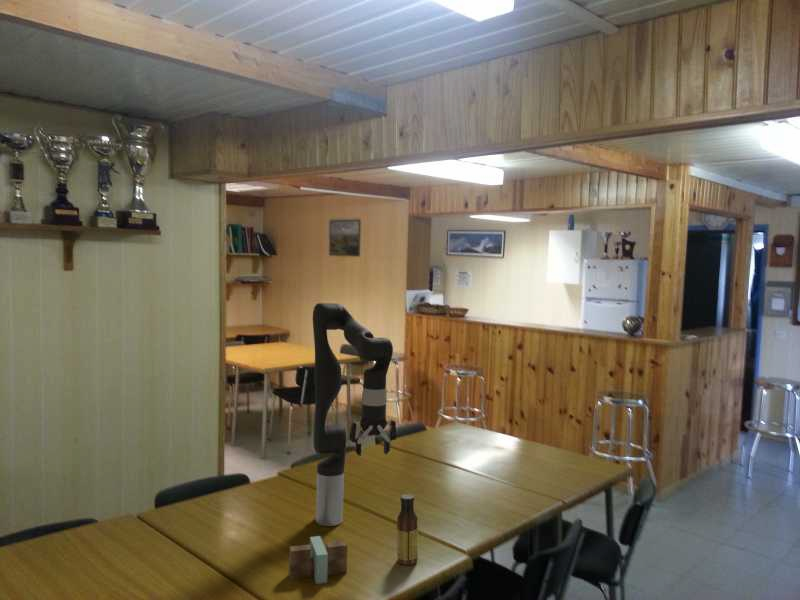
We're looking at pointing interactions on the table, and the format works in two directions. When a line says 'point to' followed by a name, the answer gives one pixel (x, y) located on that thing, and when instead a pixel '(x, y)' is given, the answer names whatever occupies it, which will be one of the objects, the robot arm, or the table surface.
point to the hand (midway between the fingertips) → (372, 454)
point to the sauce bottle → (407, 532)
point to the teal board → (319, 559)
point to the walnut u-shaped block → (304, 564)
